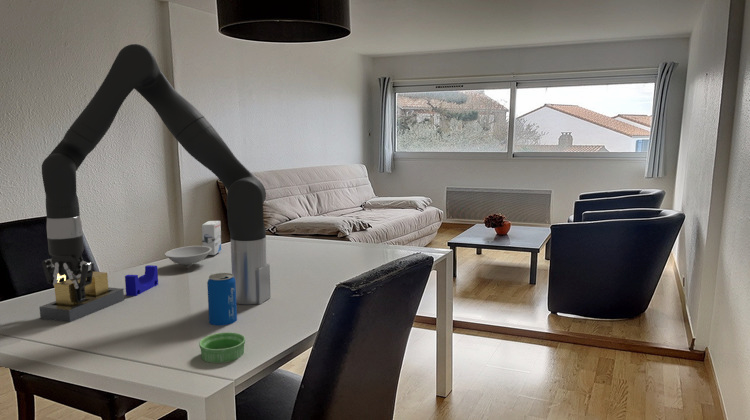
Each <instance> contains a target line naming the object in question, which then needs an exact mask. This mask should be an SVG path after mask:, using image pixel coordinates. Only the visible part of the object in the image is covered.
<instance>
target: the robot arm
mask: <svg viewBox="0 0 750 420" xmlns="http://www.w3.org/2000/svg"><path fill="white" fill-rule="evenodd" d="M159 66H160V65H159V64H158V63H157V60H156V58H155V56H154V54H153V53H152V51H151V50H150V49H149V48H147V47H146V46H144V45H142V44H138V43H132V44H128V45H125V46H124V47H123V48H121V50H119V52H118V53H117V56H116V57H115V59H114V61H113V63H112V65H111V67H110V68H109V71H108V73H106V76H105V78H104V80H103V82H102V83H101V85H100V86H99V87H98V89H97V91H96V92H95V94H94V95H93V97H92V98H91V99H90V101H89V102H88V104H87V105H86V106H85V107H84V109H83V110H82V111H81V112H80V114H79V115H78V116H77V118H76V119H75V120H74V121H73V123H72V124H71V125H70V127H69V128H68V130H67V131H66V132H65V134H64V136H63V138H62V140H60V141H59V143H57V145H56V146H55V148H54V149H52V150H51V152H50V154H48V156H47V157H46V158H44V160H43V161H42V164H41V177H42V184H43V190H44V193H45V194H44V195H45V212H46V213H45V214H46V236H47V248H48V249H47V250H48V254H49V256H51V258H48V259H45V260H42V261H41V264H42V268H43V272H44V277H45V279H46V282H47V284H48V285H50V284H52V285H53V287H54V284H56V283H59V282H62V281H65V280H67V277H68V279H70V280H71V281H72V282H73V285H74V287H75V289H74V291H75V302H76V303H80V302H83V301H84V300H85V286H86V285H89V284H91V283H92V275H93V272H94V265H95V264H94V262H93V261H89V262H87V261H86V260H85V261H84V258H83V255H82V254H83V252H84V251H85V250H84V249H85V247H84V237H83V235H84V234H83V225H82V220H81V214H80V204H79V198H78V195H77V171H78V169H79V168H80V167H81V165H82V164H83V162H84V161H85V159H86V158H87V156H88V155H89V154H90V153H91V152H93V150H94V149H95V148H96V147H97V146H98V144H99V143H100V142H101V140H102V139H103V137H105V135H106V134H107V133H108V131H109V129H110V128H111V126H112V124H113V123H114V121H115V119H116V117H117V114H118V112H119V110H120V108H121V107H122V106H123V105H122V104H123V103H124V102H125V101H126V98H128V96H129V95H130V94H131V92H133V90H134V91H136V92H137V93H138V94H139V95H140V96H141V97H143V99H145V100H146V101H147V102H148V103H149V104H150V105H151V107H153V109H154V110H155V112H156V113H157V115H158V117H159V118H160V119H161V121H162V123H163V124H164V125H165V127H166V128H167V130H168V131H169V132H170V134H171V135H172V136H173V137H174V138H175V139H176V141H177V142H178V143H179V144H180V145H181V146H182V147H183V149H184V150H185V152H187V153H188V154H189V155H190V157H192V158H194V160H196V161H197V162H199V164H201V165H202V166H204V167H205V168H206V169H208V170H209V171H211V173H212V174H214V176H215V177H217V178H218V180H219V182H221V184H223V186H224V188H225V189H226V191H227V193H226V210H227V211H226V213H227V226H228V230H229V233H230V235H229V236H230V237H229V238H230V256H231V257H230V260H231V262H230V263H231V274H233V277H234V278H235V281H236V305H237V304H238V305H261V304H262V303H264V302H265V301H267V300H269V299H271V296H272V295H271V266H270V264H269V263H267V261H268V260H267V236H266V235H267V233H266V232H267V231H266V226H265V219H264V203H265V201H266V198H267V191H266V188H265V186H264V184H263V183H262V182H261V181H260V180H259V179H258V178H257V177H256V176H255V175H254V174H253V173H252V172H251V171H250V170H249V169H248V168H247V167H246V166H245V165H244V164H242V162H241V161H240V160H239V159H238V158H237V156H235V154H234V152H232V150H231V148H229V146H228V145H227V143H226V142H225V141H224V139H223V138H222V137H221V135H219V133H218V132H217V130H216V129H215V128H214V126H213V125H212V124H211V123H210V122H209V121H208V120H207V118H206V117H205V115H203V114H202V113H201V112H200V111H199V110H198V109H197V108H196V107H195V106H194V105H193V104H192V103H191V102H189V101H188V100H187V99H186V98H185V97H183V96H182V95H181V94H180V93H179V92H178V91H177V90H176V89H175V87H174V86H173V85H172V84H171V83H170V81H169V80H168V78H167V77H166V76H165V74H164V73H163V72H162V70H161V68H160V67H159ZM51 274H52V275H51ZM86 278H87V280H86ZM78 280H79V282H80V283H78Z"/></svg>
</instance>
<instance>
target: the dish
mask: <svg viewBox="0 0 750 420" xmlns="http://www.w3.org/2000/svg"><path fill="white" fill-rule="evenodd" d="M211 250H212V248H211V247H208V246H202V245H187V246H180V247H176V248H173V249H170V250H168V251H165V253H164V256H165V257H167V258H168V259H169V260H170V261H171V262H173V263H175V264H178V265H186V266H188V267H189V266H193V265H194V264H196V263H199V262H201V261H203V260H204V259H205V258H206V257H208V256H209V255H208V254H209V252H210V251H211Z"/></svg>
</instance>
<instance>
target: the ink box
mask: <svg viewBox="0 0 750 420" xmlns="http://www.w3.org/2000/svg"><path fill="white" fill-rule="evenodd" d="M221 224H222V223H221V220H208V221H206V222H205V223H203V224H201V237H202V238H201V239H202V240H201V242H202V243H201V244H202V245H201V246H208V247H211V248H212V250H211V251H210V252H209V254H208V255H207V256H215V255H216V254H218V253H219V252H221V250H222V230H221V226H222V225H221Z"/></svg>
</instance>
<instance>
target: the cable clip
mask: <svg viewBox="0 0 750 420" xmlns="http://www.w3.org/2000/svg"><path fill="white" fill-rule="evenodd" d="M158 273H159V272H158V265H146V266H144V274H143V275H142V274H141V276H139V274H126V275H124V284H125V296H126V297H128V296H129V297H137V296H139V295H141V294H143V293H145V292H147V291H149V290H151V289H152V288H154V287H156V286H159V274H158Z"/></svg>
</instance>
